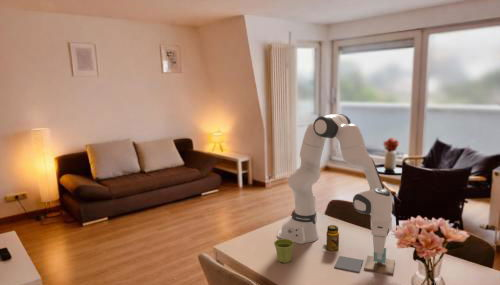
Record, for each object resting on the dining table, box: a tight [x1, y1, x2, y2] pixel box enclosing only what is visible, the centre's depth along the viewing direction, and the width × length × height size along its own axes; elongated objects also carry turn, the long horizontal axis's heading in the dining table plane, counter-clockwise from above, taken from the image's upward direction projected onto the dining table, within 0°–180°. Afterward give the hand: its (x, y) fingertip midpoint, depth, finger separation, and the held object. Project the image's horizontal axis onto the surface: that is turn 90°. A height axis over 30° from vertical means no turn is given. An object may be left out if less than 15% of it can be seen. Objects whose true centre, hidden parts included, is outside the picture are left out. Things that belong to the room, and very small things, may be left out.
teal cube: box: [373, 247, 387, 263], centre depth 158 cm, size 5×5×5 cm
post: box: [363, 255, 396, 276], centre depth 159 cm, size 12×12×7 cm
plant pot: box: [273, 238, 295, 264], centre depth 167 cm, size 9×9×9 cm
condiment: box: [321, 224, 341, 254], centre depth 176 cm, size 7×8×12 cm
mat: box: [333, 255, 364, 274], centre depth 161 cm, size 11×11×1 cm
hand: (380, 253), depth 158 cm, fingers open, 8 cm apart
